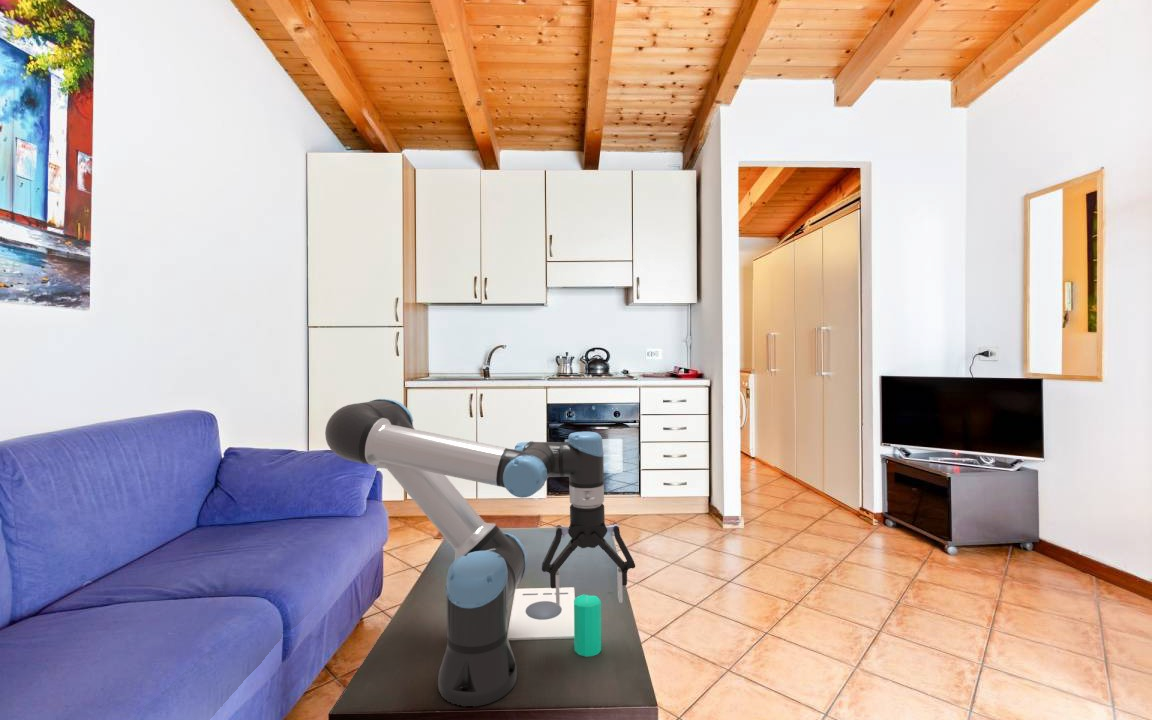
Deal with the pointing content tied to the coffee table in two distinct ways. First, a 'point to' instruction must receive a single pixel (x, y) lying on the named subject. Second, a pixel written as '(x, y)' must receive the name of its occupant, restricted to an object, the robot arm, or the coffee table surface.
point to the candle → (587, 625)
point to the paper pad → (542, 614)
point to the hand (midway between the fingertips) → (589, 601)
